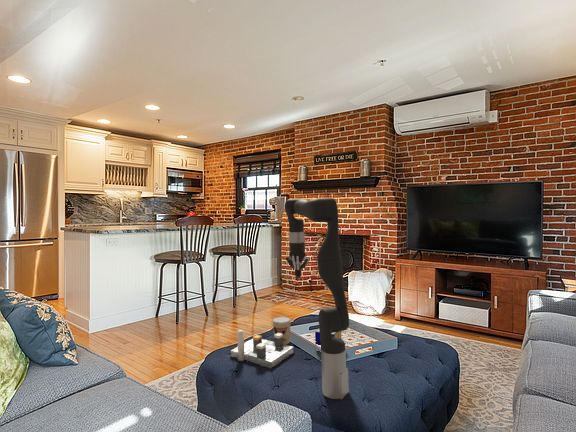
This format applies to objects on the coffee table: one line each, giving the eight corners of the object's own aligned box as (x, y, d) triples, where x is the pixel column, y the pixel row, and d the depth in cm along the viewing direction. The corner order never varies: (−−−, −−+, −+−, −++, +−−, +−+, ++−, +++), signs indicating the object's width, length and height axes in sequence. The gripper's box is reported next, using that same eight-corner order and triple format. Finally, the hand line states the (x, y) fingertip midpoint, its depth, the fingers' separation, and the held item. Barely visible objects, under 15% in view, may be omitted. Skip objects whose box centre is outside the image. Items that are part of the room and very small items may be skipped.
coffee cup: (270, 344, 189) (269, 321, 188) (277, 337, 198) (276, 315, 197) (288, 346, 186) (287, 323, 185) (293, 339, 195) (292, 317, 194)
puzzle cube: (315, 351, 179) (314, 331, 179) (323, 343, 188) (322, 324, 187) (334, 355, 175) (334, 334, 174) (342, 347, 183) (341, 327, 183)
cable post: (247, 359, 173) (245, 330, 172) (242, 362, 170) (240, 332, 169) (241, 357, 175) (239, 329, 174) (236, 360, 172) (234, 331, 171)
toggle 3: (283, 344, 181) (283, 333, 181) (279, 346, 179) (279, 336, 178) (278, 343, 183) (277, 332, 182) (274, 345, 180) (274, 334, 180)
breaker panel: (293, 352, 179) (293, 346, 178) (271, 368, 164) (271, 361, 164) (254, 343, 192) (254, 337, 192) (231, 356, 177) (230, 350, 177)
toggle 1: (262, 346, 180) (261, 335, 179) (258, 348, 177) (257, 338, 177) (257, 345, 181) (256, 334, 181) (253, 347, 179) (252, 336, 178)
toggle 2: (266, 355, 169) (265, 344, 169) (262, 358, 167) (261, 346, 167) (260, 353, 171) (260, 342, 171) (256, 356, 169) (256, 345, 168)
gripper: (313, 240, 175) (314, 276, 176) (289, 239, 182) (290, 274, 183) (304, 242, 168) (306, 280, 169) (281, 241, 176) (282, 277, 177)
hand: (298, 277), depth 176 cm, fingers closed
